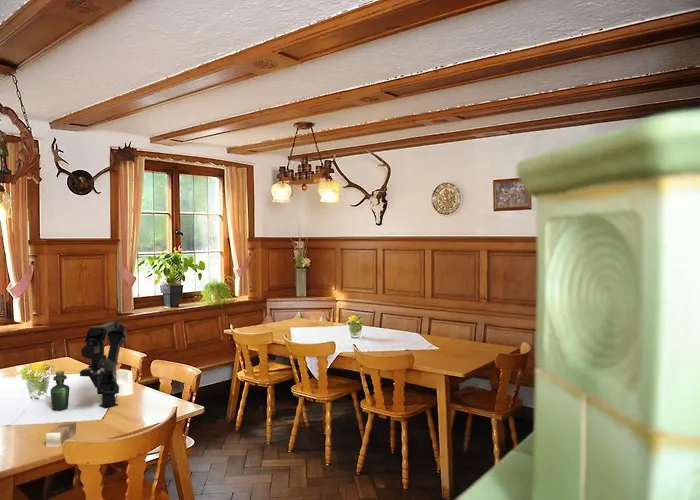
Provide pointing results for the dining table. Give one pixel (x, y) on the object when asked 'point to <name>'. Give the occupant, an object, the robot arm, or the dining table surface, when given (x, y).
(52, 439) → the cream and brown block
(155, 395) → the dining table surface
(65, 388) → the potion bottle
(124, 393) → the white cutaway cylinder
